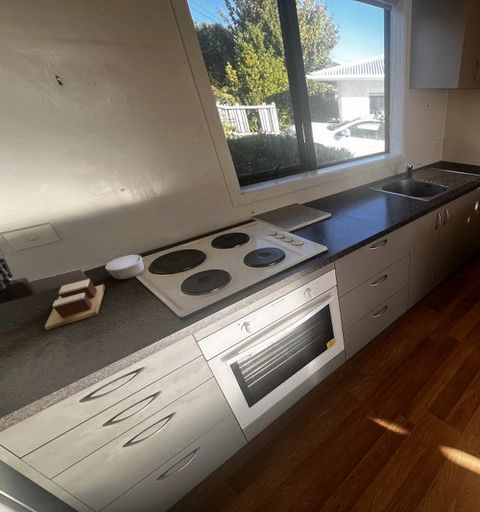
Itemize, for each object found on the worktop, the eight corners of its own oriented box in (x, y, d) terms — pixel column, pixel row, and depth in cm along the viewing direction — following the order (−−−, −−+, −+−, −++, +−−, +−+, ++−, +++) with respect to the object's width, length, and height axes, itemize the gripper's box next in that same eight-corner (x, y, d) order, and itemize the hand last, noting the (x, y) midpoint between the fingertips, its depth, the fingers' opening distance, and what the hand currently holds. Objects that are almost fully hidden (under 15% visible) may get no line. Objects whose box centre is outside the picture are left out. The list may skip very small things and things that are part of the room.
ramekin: (141, 277, 111) (135, 266, 108) (106, 284, 108) (99, 272, 105) (150, 263, 120) (145, 252, 117) (118, 268, 117) (112, 257, 114)
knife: (-11, 306, 82) (-24, 292, 79) (-7, 301, 84) (-20, 288, 81) (86, 281, 92) (77, 268, 89) (88, 277, 93) (79, 264, 91)
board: (46, 329, 88) (44, 327, 87) (61, 299, 101) (59, 296, 100) (97, 314, 93) (95, 311, 93) (105, 286, 106) (103, 284, 106)
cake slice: (61, 318, 90) (52, 306, 88) (64, 312, 93) (54, 300, 90) (91, 309, 94) (82, 297, 91) (92, 304, 96) (84, 292, 93)
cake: (67, 305, 96) (58, 293, 93) (70, 297, 100) (62, 285, 97) (94, 297, 99) (86, 285, 96) (96, 289, 103) (89, 278, 100)
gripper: (-42, 239, 79) (2, 289, 88) (-70, 261, 69) (-18, 315, 78) (-1, 232, 82) (37, 281, 91) (-23, 251, 72) (22, 305, 81)
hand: (11, 296), depth 84 cm, fingers closed on knife, 2 cm apart
